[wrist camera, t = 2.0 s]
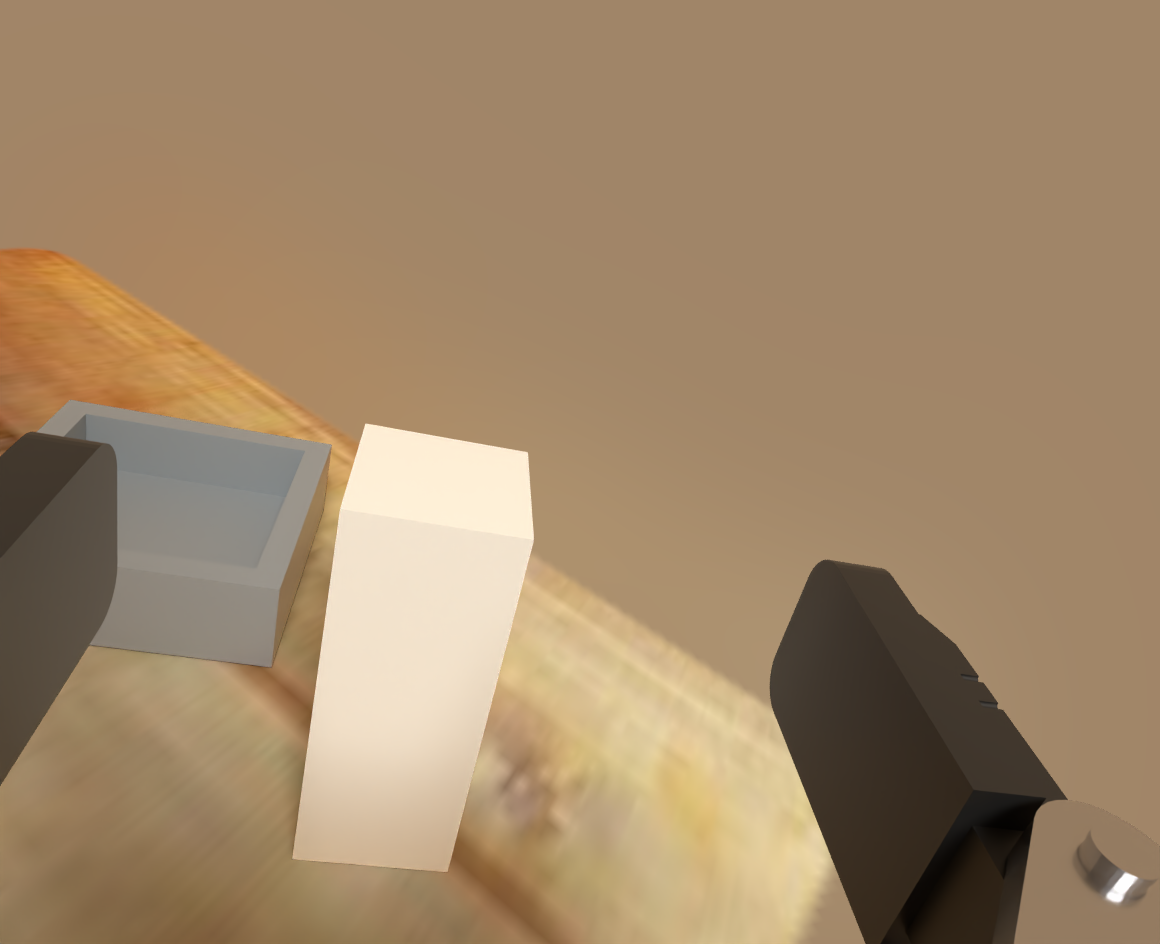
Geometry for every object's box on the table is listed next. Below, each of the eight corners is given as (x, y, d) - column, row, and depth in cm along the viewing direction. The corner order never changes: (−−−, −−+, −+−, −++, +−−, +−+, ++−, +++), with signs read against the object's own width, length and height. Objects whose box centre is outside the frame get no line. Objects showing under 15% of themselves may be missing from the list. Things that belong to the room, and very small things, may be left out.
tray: (-66, 625, 30) (-76, 539, 28) (72, 469, 39) (70, 399, 38) (271, 667, 32) (279, 589, 30) (323, 509, 41) (331, 444, 40)
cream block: (292, 859, 25) (339, 508, 20) (319, 742, 29) (365, 423, 24) (447, 872, 26) (533, 540, 21) (453, 757, 30) (527, 452, 25)
